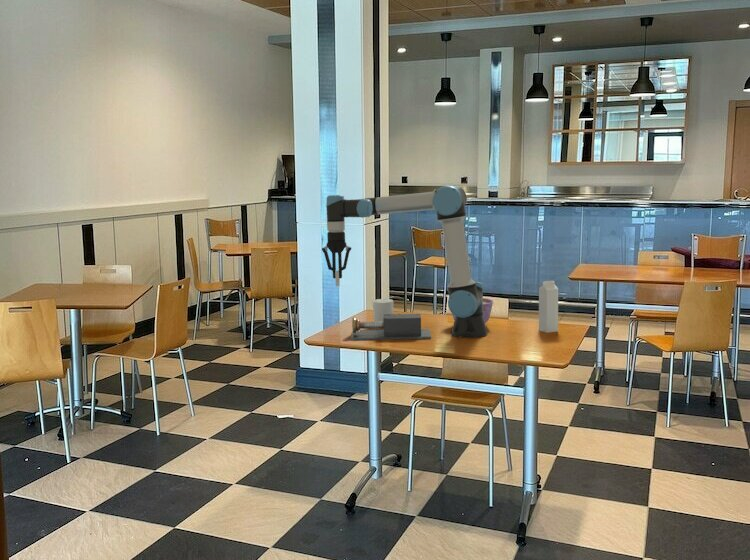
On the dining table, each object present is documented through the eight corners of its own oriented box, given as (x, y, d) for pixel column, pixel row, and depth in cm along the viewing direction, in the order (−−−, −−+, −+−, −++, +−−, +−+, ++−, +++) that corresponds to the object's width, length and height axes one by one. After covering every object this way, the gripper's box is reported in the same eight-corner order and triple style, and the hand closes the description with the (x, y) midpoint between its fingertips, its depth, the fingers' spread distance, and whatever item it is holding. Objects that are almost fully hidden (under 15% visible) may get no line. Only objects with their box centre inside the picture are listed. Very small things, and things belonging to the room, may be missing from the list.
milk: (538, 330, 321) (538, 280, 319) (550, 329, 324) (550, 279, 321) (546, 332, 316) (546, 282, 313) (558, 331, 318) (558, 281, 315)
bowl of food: (490, 321, 344) (490, 297, 342) (496, 330, 324) (496, 304, 322) (447, 322, 344) (447, 297, 343) (451, 331, 325) (450, 305, 323)
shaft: (352, 334, 315) (352, 319, 314) (353, 331, 322) (353, 316, 321) (402, 333, 315) (402, 318, 314) (402, 330, 321) (402, 315, 320)
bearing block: (350, 340, 311) (350, 320, 310) (353, 332, 327) (352, 313, 326) (430, 338, 310) (430, 319, 308) (429, 331, 325) (429, 312, 324)
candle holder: (394, 328, 334) (393, 302, 332) (372, 328, 334) (371, 302, 332) (393, 323, 343) (393, 298, 342) (373, 324, 344) (372, 299, 342)
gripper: (351, 230, 316) (353, 284, 320) (321, 231, 317) (323, 284, 320) (350, 231, 309) (352, 286, 312) (319, 232, 309) (321, 287, 313)
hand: (337, 285), depth 316 cm, fingers closed
